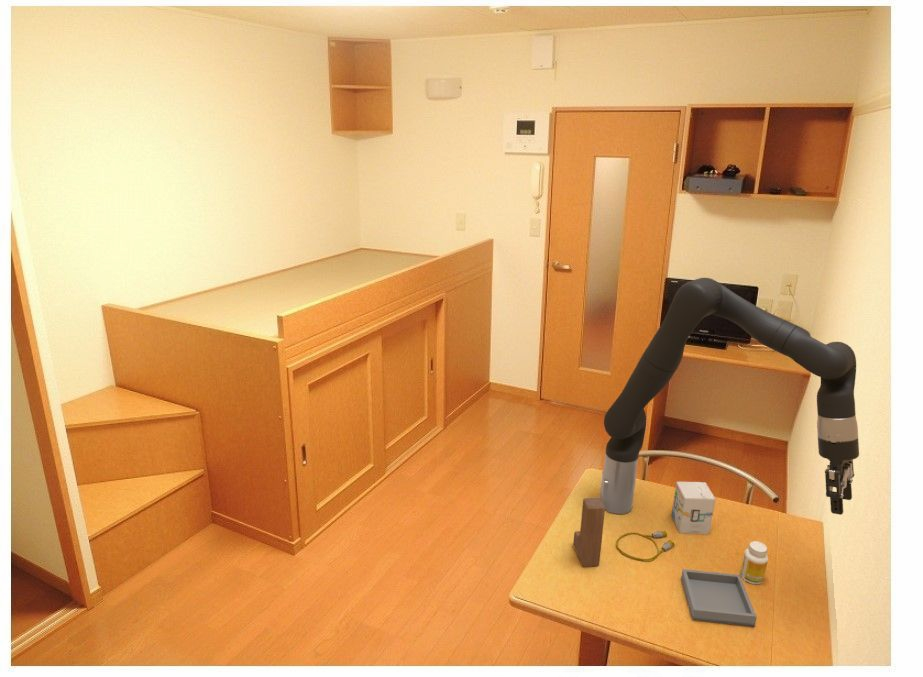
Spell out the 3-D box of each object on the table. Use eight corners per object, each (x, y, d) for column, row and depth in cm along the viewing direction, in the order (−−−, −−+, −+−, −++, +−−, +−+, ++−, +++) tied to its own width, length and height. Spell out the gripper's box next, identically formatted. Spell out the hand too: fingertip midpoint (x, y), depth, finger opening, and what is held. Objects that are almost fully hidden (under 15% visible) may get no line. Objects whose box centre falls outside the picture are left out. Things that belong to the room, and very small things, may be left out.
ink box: (670, 514, 179) (675, 480, 175) (700, 515, 178) (706, 481, 174) (679, 533, 171) (684, 497, 167) (710, 534, 170) (716, 498, 166)
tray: (692, 620, 141) (694, 609, 140) (680, 578, 154) (682, 569, 153) (754, 627, 139) (756, 616, 138) (737, 584, 152) (739, 574, 151)
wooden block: (572, 544, 166) (577, 487, 159) (588, 543, 166) (594, 486, 160) (582, 567, 157) (588, 508, 151) (599, 566, 158) (605, 507, 152)
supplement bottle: (735, 572, 156) (741, 540, 153) (753, 568, 158) (760, 537, 154) (749, 586, 151) (756, 555, 148) (768, 583, 153) (775, 551, 149)
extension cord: (680, 565, 159) (681, 559, 158) (618, 561, 160) (619, 555, 160) (669, 535, 170) (670, 529, 170) (611, 531, 172) (612, 526, 171)
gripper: (825, 424, 141) (830, 492, 142) (809, 442, 130) (814, 515, 132) (864, 427, 135) (868, 497, 137) (850, 446, 125) (854, 522, 127)
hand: (841, 506), depth 135 cm, fingers open, 8 cm apart
